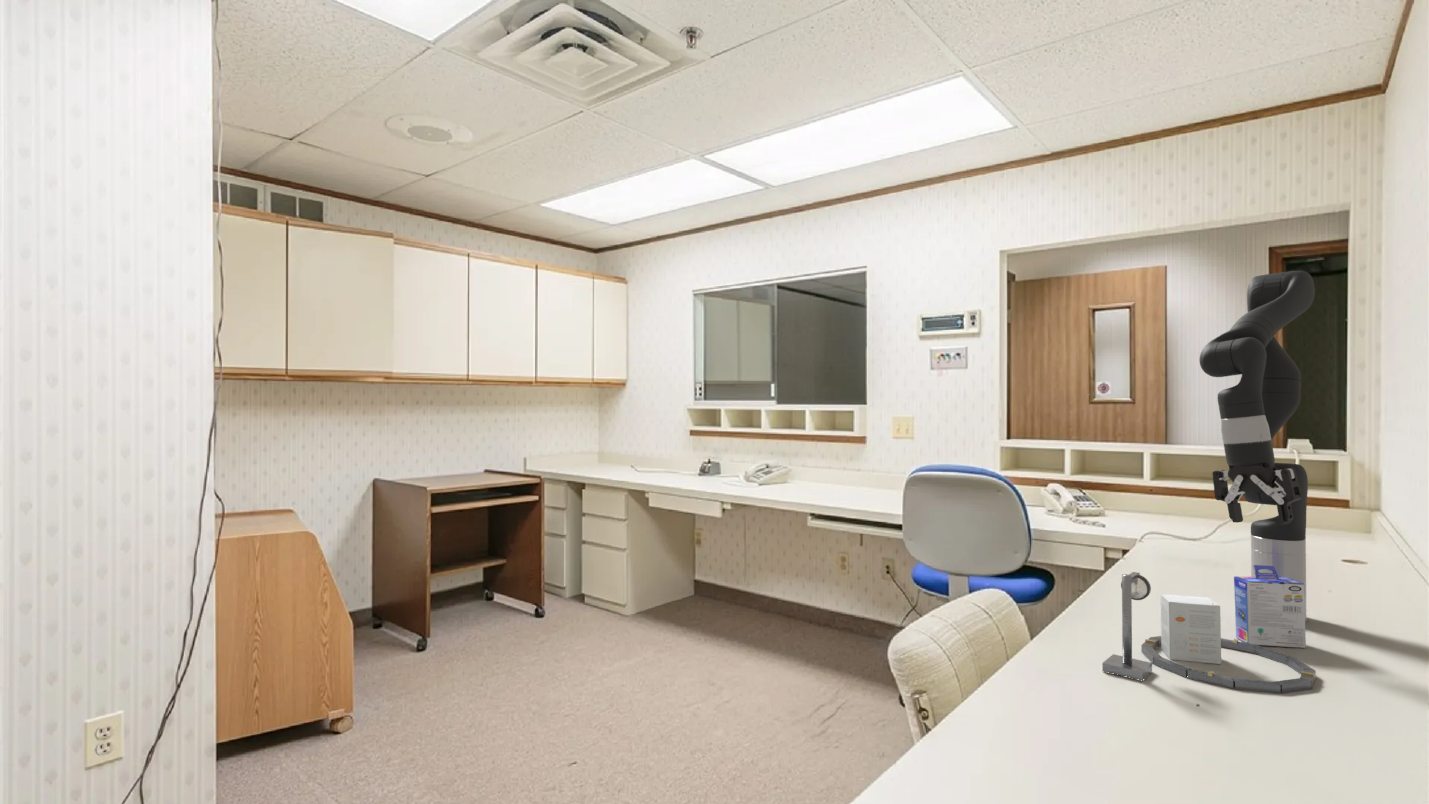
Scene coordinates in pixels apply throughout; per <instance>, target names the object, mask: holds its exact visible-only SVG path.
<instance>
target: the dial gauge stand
mask: <svg viewBox="0 0 1429 804" xmlns="http://www.w3.org/2000/svg"><path fill="white" fill-rule="evenodd" d="M1120 582H1121V583H1120V588H1121V621H1122V623H1121V625H1122V626H1121V627H1122V633H1121V634H1122V635H1121V636H1122V637H1121V638H1122V639H1121V640H1122V641H1121V642H1122V643H1121V645H1122V646H1121V647H1122V651H1121V652H1122V655H1118V654H1114V653H1112V654H1111V655H1110V656H1109V657H1108V658H1106V659H1105V660H1104V661H1103V662H1102V672H1103V671H1105V672H1104V673H1106V672H1109V673H1108V674H1110V673H1114V674H1118V675H1121V676H1120V677H1122V676H1127V677H1130V678H1133V679H1132V680H1134V679H1139V680H1142V681H1141V682H1144V681H1143V679H1145V678H1146V677H1147V678H1148V677H1149V676H1150V675H1151V674H1152V672H1153V663H1152V662H1151V661H1150V662H1149V661H1146V660H1145V661H1144V660H1140V659H1136V658H1133V632H1132V631H1133V626H1132V625H1133V620H1132V619H1133V617H1132V616H1133V614H1132V609H1133V608H1132V607H1133V606H1132V605H1133V604H1132V603H1133V602H1132V600H1134V601H1141V600H1144V599H1146V598H1148V596H1149V595H1150V594H1151V592H1152V586H1151V584H1150V582H1149V580H1148V579H1147V578H1146V577H1145V576H1143V575H1141V573H1140V572H1138V571H1137V572H1136V571H1132V572H1130V573H1128V574H1121V581H1120ZM1114 674H1113V675H1114ZM1118 675H1117V676H1118ZM1130 678H1129V679H1130ZM1147 678H1146V679H1147ZM1146 679H1145V680H1146Z"/></svg>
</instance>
